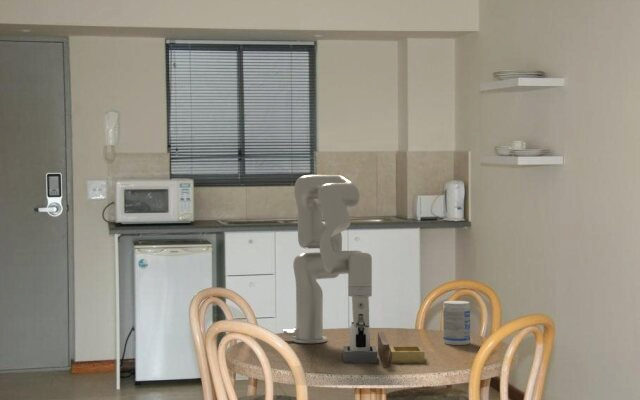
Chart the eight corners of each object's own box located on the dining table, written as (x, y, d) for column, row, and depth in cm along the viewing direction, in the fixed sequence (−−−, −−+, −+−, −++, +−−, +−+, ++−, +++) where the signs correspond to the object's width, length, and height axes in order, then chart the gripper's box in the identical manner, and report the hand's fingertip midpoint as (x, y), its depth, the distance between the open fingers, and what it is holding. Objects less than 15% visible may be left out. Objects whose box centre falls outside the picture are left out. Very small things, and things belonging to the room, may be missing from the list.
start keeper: (344, 362, 308) (344, 351, 308) (343, 356, 318) (343, 346, 318) (377, 362, 308) (377, 351, 308) (375, 356, 318) (375, 346, 318)
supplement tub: (471, 346, 338) (471, 303, 338) (443, 345, 339) (443, 303, 338) (468, 341, 348) (469, 300, 347) (442, 340, 348) (442, 300, 348)
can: (368, 362, 309) (368, 324, 309) (348, 361, 311) (348, 323, 310) (371, 358, 316) (371, 321, 315) (351, 357, 317) (351, 320, 317)
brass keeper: (391, 362, 308) (391, 351, 308) (389, 356, 318) (389, 345, 318) (424, 362, 308) (424, 351, 308) (420, 356, 318) (420, 345, 318)
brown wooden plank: (382, 367, 301) (382, 344, 301) (377, 352, 325) (377, 331, 325) (389, 367, 301) (389, 344, 301) (383, 352, 325) (383, 331, 325)
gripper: (373, 294, 304) (373, 349, 304) (370, 288, 321) (370, 340, 322) (349, 294, 304) (349, 349, 304) (347, 288, 321) (347, 340, 322)
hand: (360, 344), depth 313 cm, fingers open, 9 cm apart
